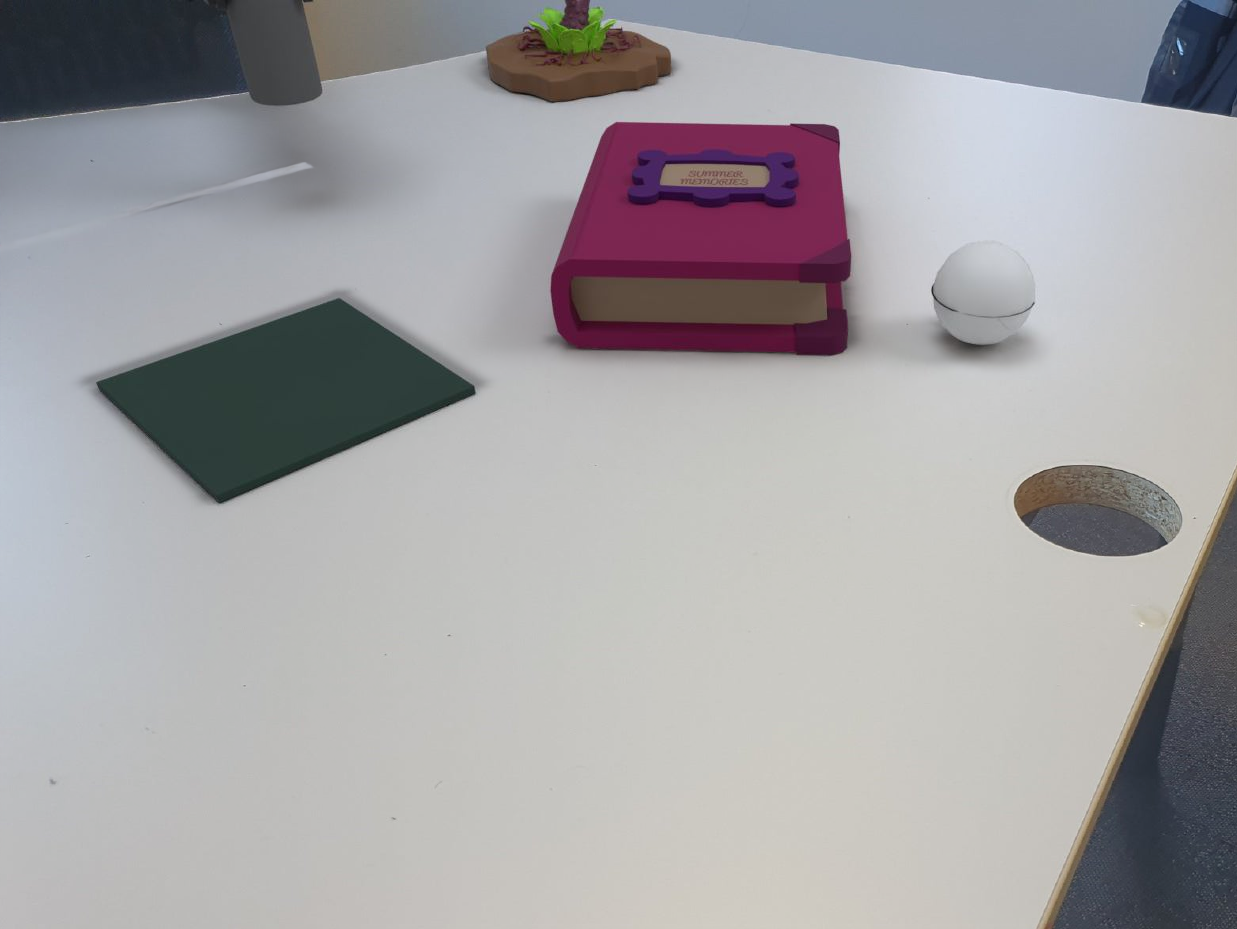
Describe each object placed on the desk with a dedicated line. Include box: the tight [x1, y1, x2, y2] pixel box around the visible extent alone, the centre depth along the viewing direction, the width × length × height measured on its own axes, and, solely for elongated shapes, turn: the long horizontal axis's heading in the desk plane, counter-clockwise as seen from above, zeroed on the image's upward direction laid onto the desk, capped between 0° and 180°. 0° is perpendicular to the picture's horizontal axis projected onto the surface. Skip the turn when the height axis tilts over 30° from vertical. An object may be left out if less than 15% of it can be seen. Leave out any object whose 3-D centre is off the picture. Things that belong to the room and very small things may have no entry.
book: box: [549, 121, 852, 356], centre depth 89 cm, size 21×28×8 cm
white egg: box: [930, 240, 1036, 346], centre depth 80 cm, size 10×7×7 cm
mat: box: [95, 297, 477, 504], centre depth 76 cm, size 18×18×1 cm
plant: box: [485, 0, 672, 103], centre depth 127 cm, size 20×20×11 cm
